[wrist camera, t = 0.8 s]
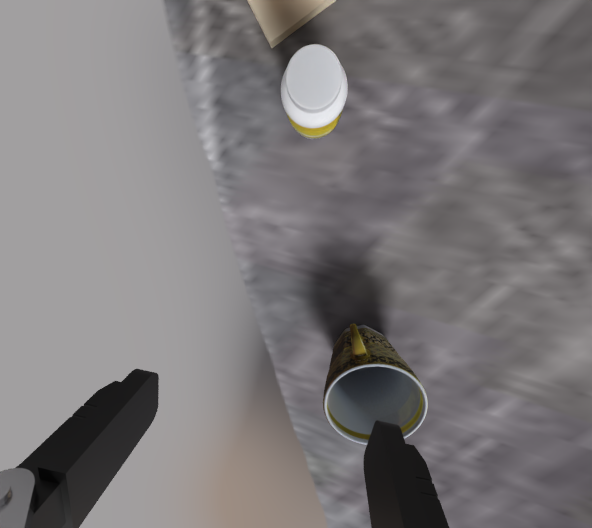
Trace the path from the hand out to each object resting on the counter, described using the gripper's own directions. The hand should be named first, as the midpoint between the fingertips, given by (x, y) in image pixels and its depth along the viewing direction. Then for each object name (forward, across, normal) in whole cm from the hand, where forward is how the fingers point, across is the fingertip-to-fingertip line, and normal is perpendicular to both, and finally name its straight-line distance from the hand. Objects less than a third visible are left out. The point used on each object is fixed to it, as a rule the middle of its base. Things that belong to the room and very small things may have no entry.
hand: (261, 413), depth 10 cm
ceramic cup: (+24, -9, +10) cm, 28 cm away
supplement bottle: (+24, +2, -15) cm, 29 cm away
